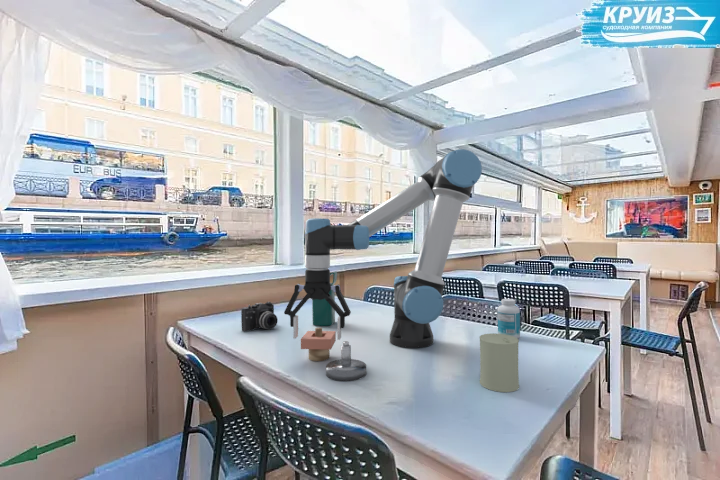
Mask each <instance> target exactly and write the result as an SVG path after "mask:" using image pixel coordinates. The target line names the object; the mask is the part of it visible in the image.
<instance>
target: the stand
mask: <svg viewBox="0 0 720 480" xmlns="http://www.w3.org/2000/svg"><path fill="white" fill-rule="evenodd" d="M314 331H315V337H322V331H323V327H315V328H314ZM330 358H331V357H330V350H329V349H308V359H309V360H310V361H313V362H323V361H326V360H329V359H330Z"/></svg>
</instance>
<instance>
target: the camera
mask: <svg viewBox="0 0 720 480" xmlns="http://www.w3.org/2000/svg"><path fill="white" fill-rule="evenodd" d="M274 306H275V305H274V304H273V302H271V301H266V302H265V303H262V302H259V303H258V302H257V303H254V305H253V304H252V305H251V304H248V306H247V307H246V306H245V307H242V308H241V315H240V317H241V321H240V322H241V331H242V332H249V331H252V330H253V329H254V330H257V329H265V330H271V329H274V328H275V327H276V326H277V325H278V321H279V320H278V316H277V315H276V314H275V307H274ZM254 330H253V331H254Z"/></svg>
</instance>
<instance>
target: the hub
mask: <svg viewBox="0 0 720 480" xmlns="http://www.w3.org/2000/svg"><path fill="white" fill-rule="evenodd" d="M340 349H341V350H340V351H341V352H340V356H341V357H340V358H341V359H335V360H332V361H330V362H328V363H327V364H326V366H325V375H326V378H329V380H332V381H337V382H354V381H357V380H361V379H363V378H365V376H366V375H367V364H366V363H365V362H364V361H362V360H359V359H353V358H352V351H351V350H352V346H351V344H350V342H349V341H343V342H342V344H341V345H340Z"/></svg>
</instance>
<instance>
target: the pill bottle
mask: <svg viewBox="0 0 720 480" xmlns="http://www.w3.org/2000/svg"><path fill="white" fill-rule="evenodd" d="M500 304H501V305H499V306H498V307H497V334H505V335H510V336H513V337H516V338H517V339H518V340H519V339H520V338H521V314H520V313H521V309H520V308H519V307H518V306H517V305H516V299H515V298H502V299H501V303H500Z"/></svg>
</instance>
